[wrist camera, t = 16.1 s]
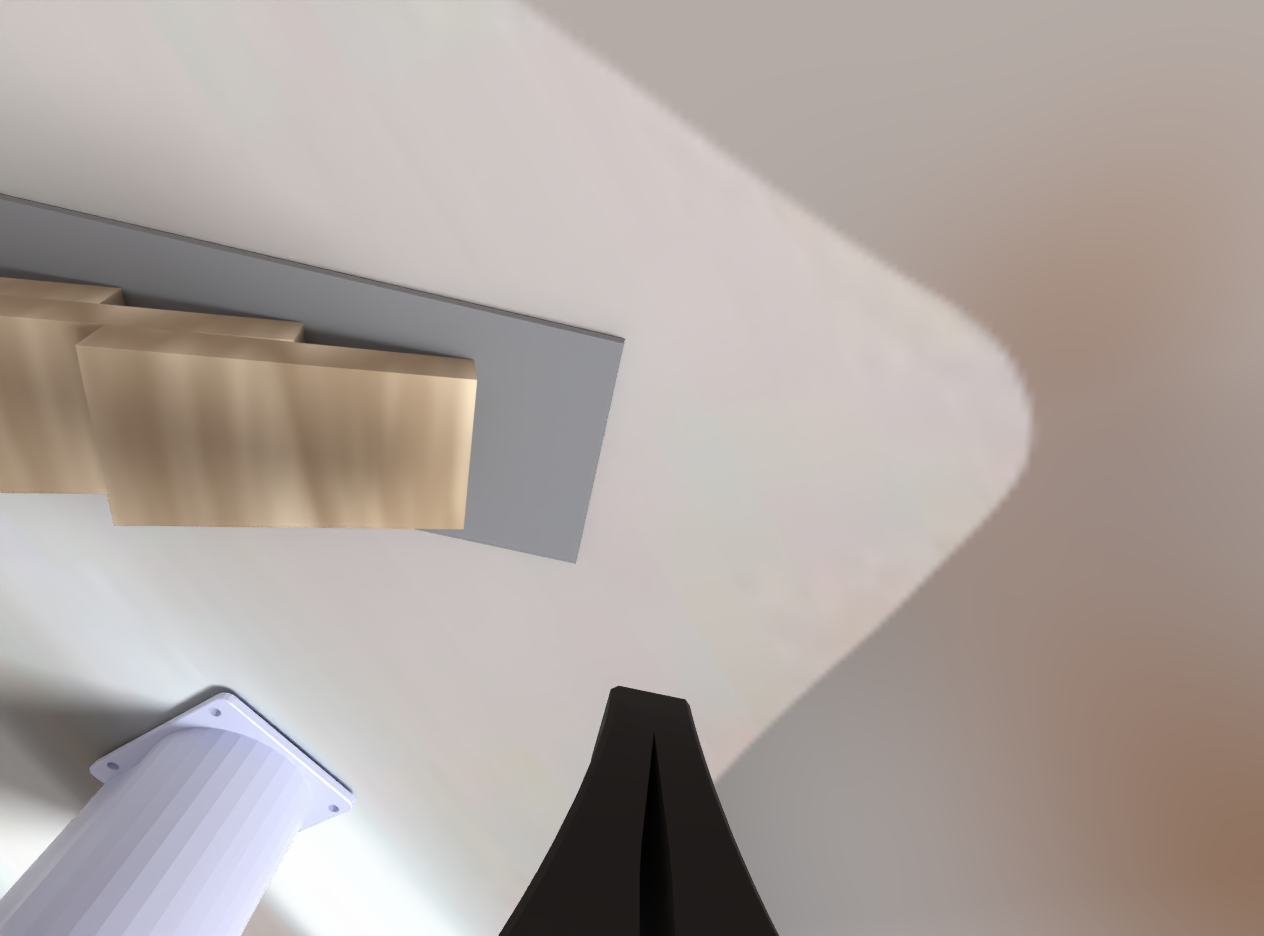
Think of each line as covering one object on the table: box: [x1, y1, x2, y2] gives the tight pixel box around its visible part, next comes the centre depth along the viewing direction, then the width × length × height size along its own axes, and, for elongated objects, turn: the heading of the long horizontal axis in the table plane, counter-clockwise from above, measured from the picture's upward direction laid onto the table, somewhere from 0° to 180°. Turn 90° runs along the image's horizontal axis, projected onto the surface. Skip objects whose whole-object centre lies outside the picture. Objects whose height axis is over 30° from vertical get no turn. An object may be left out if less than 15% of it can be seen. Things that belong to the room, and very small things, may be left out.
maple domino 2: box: [75, 324, 477, 529], centre depth 18 cm, size 2×5×9 cm
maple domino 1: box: [0, 295, 305, 494], centre depth 17 cm, size 2×5×9 cm
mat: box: [0, 194, 625, 564], centre depth 20 cm, size 26×8×1 cm, turn 78°
